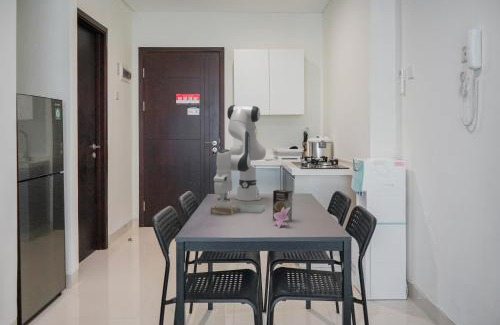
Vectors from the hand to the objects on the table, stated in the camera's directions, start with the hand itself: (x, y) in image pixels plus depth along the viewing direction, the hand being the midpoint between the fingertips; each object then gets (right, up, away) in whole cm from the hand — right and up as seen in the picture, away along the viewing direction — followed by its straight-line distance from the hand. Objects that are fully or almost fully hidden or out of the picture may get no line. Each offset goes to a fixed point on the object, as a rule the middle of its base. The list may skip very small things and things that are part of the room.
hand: (223, 200), depth 247 cm
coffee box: (+33, -9, -20) cm, 40 cm away
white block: (0, -8, 0) cm, 8 cm away
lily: (+32, -10, -35) cm, 48 cm away
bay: (0, -7, 0) cm, 7 cm away
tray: (+17, -7, +5) cm, 19 cm away
